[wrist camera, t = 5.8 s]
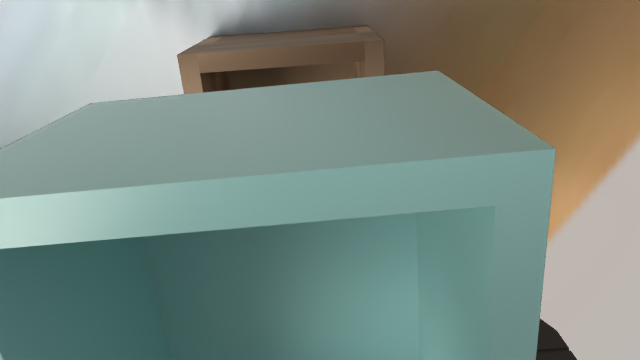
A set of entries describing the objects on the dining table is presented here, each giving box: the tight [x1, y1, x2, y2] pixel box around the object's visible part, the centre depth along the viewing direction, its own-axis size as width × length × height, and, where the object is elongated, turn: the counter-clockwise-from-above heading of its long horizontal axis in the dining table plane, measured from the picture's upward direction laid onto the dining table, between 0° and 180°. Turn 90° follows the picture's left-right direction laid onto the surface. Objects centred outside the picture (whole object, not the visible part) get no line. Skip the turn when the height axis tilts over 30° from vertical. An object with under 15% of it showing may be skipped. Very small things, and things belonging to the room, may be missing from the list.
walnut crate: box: [177, 25, 385, 94], centre depth 22 cm, size 12×7×6 cm, turn 4°
